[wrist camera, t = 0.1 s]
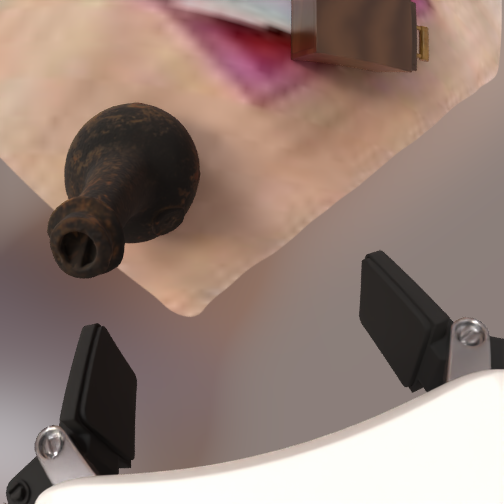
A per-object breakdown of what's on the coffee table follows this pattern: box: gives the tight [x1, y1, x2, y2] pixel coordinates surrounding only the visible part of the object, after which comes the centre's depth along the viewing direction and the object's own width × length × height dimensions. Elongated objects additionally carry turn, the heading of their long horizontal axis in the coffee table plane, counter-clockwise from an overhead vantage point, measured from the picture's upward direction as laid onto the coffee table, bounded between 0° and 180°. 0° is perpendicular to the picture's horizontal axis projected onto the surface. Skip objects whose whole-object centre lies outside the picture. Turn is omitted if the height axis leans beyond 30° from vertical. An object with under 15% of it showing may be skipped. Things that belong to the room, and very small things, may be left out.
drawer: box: [411, 2, 429, 71], centre depth 34 cm, size 18×11×8 cm, turn 90°
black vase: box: [47, 103, 200, 278], centre depth 30 cm, size 18×18×28 cm
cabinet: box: [291, 0, 412, 72], centre depth 33 cm, size 15×13×10 cm
